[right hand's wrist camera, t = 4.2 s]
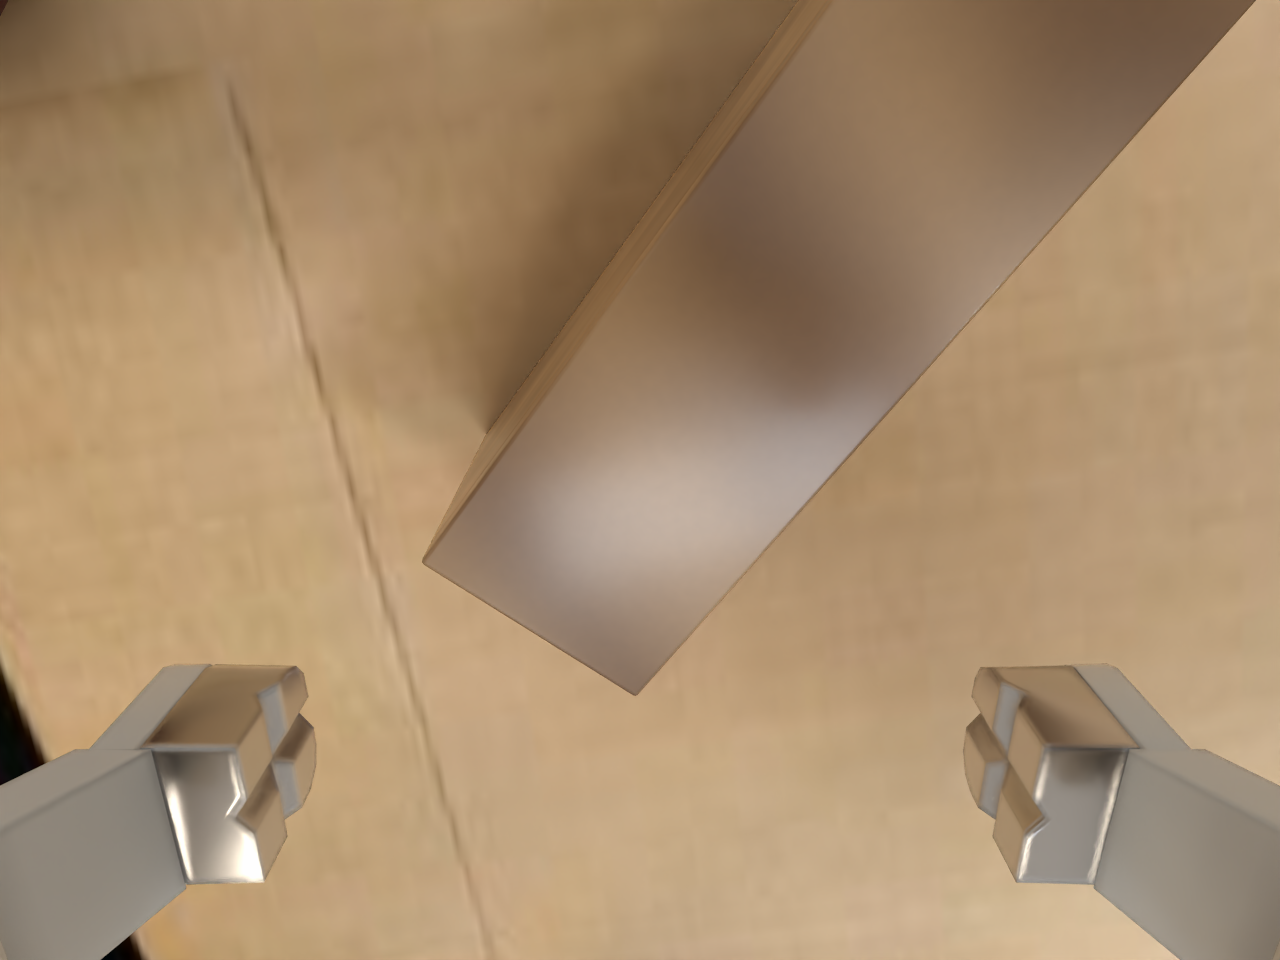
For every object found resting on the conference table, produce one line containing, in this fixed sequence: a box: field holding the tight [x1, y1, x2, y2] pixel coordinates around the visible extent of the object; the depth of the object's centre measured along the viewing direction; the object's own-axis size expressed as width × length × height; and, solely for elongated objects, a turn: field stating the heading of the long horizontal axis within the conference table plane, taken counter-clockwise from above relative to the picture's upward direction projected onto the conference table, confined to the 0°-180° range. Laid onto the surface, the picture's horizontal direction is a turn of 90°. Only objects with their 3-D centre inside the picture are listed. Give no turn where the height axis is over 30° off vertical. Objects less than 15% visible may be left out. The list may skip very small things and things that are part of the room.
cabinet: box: [422, 0, 1256, 696], centre depth 19 cm, size 19×6×8 cm, turn 143°
